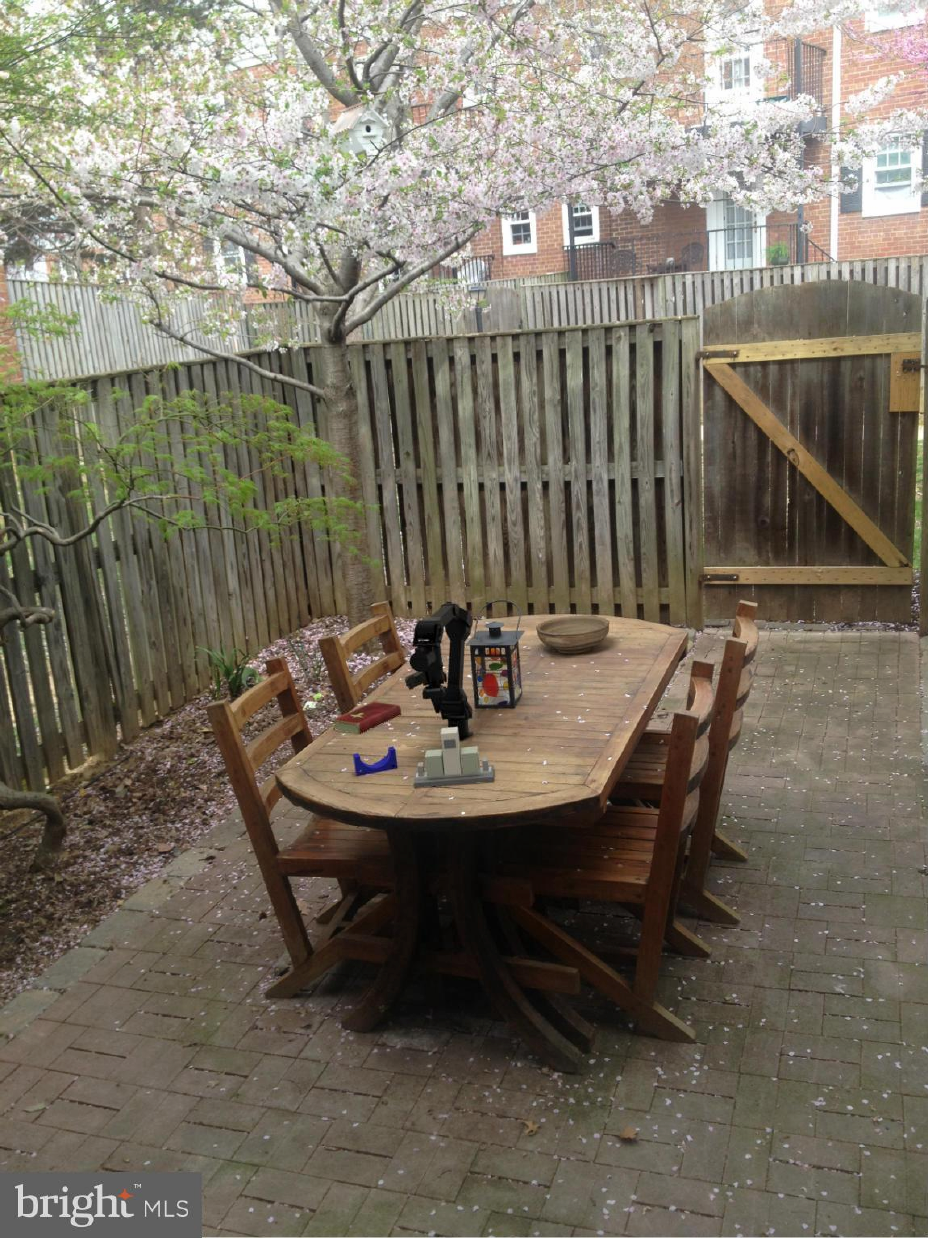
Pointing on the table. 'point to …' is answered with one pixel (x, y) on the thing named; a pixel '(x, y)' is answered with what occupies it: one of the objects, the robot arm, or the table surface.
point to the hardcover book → (366, 717)
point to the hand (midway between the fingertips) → (437, 713)
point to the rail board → (469, 774)
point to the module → (451, 751)
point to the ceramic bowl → (573, 633)
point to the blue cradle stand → (382, 765)
